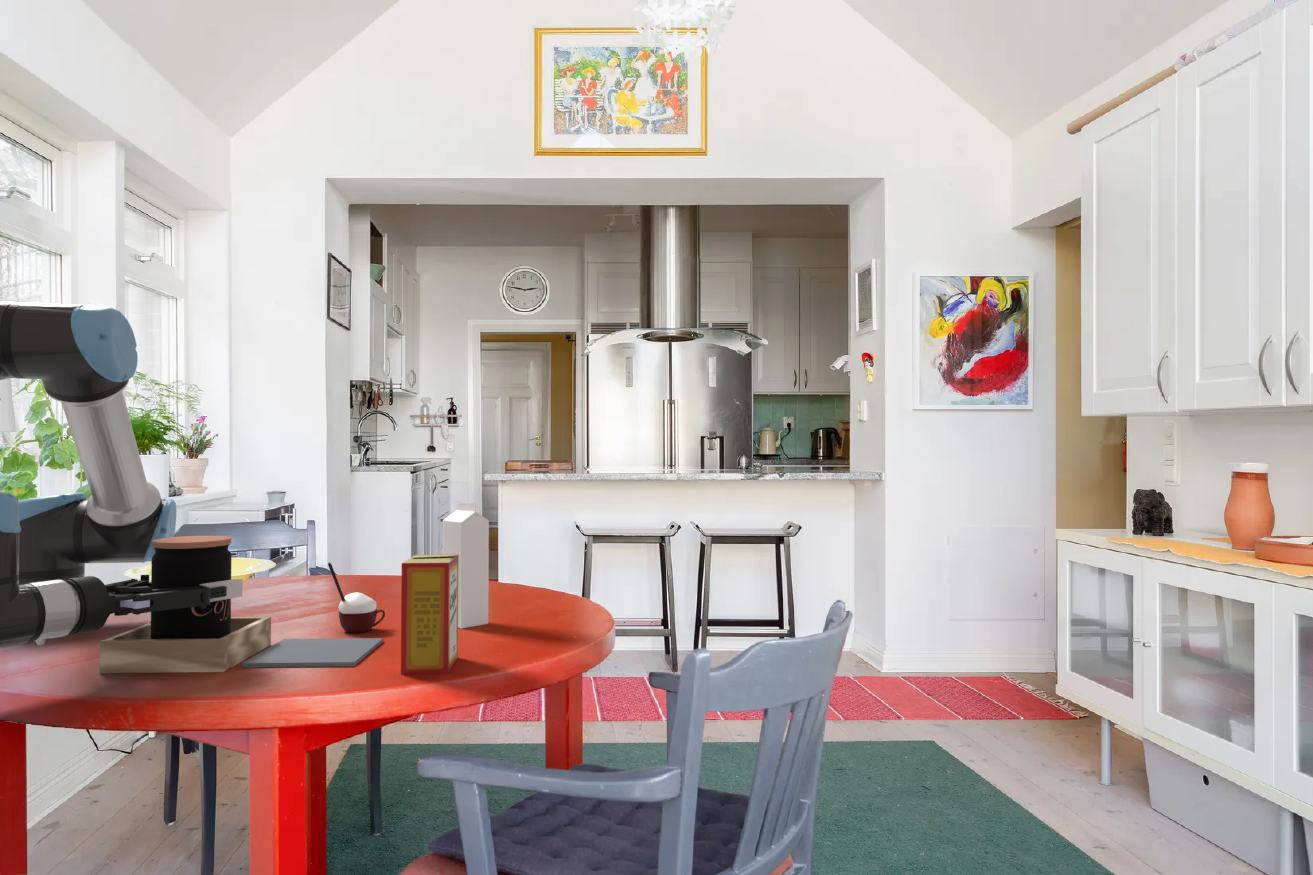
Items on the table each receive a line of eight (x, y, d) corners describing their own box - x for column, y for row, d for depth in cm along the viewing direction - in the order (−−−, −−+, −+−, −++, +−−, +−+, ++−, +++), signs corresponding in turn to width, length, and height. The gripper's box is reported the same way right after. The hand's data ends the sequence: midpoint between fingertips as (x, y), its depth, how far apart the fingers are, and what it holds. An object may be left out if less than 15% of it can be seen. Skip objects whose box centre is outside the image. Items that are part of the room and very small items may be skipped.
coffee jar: (196, 668, 124) (197, 543, 124) (132, 664, 126) (134, 541, 126) (245, 651, 134) (247, 536, 134) (186, 648, 136) (187, 534, 136)
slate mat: (283, 642, 140) (283, 638, 140) (383, 641, 141) (383, 637, 141) (241, 667, 124) (241, 663, 124) (354, 666, 125) (354, 661, 125)
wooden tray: (162, 645, 138) (162, 617, 138) (270, 644, 139) (271, 616, 139) (99, 673, 121) (100, 641, 121) (223, 671, 122) (223, 640, 122)
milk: (460, 629, 152) (461, 504, 152) (441, 624, 156) (441, 502, 156) (489, 623, 156) (489, 502, 156) (469, 619, 160) (469, 501, 160)
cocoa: (386, 629, 153) (390, 561, 154) (377, 635, 147) (381, 565, 148) (331, 627, 152) (336, 559, 153) (320, 633, 146) (325, 562, 147)
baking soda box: (447, 673, 121) (448, 560, 122) (400, 674, 121) (401, 560, 121) (457, 657, 131) (458, 552, 131) (414, 658, 130) (414, 552, 131)
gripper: (16, 627, 119) (169, 602, 139) (117, 645, 109) (267, 615, 128) (17, 573, 119) (169, 556, 139) (118, 585, 109) (267, 565, 128)
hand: (216, 584), depth 134 cm, fingers closed on coffee jar, 11 cm apart
